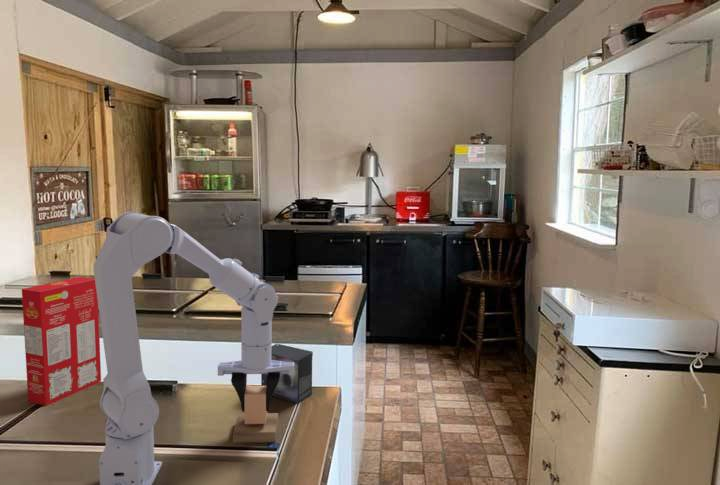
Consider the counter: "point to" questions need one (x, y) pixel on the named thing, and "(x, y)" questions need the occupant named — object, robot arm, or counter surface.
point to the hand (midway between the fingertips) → (256, 409)
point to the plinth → (255, 430)
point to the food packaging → (61, 338)
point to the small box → (301, 381)
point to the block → (255, 405)
